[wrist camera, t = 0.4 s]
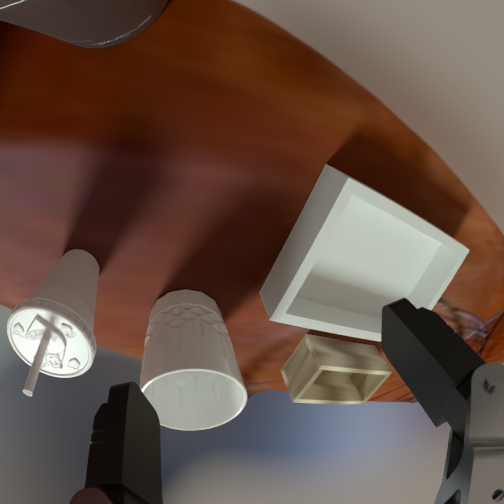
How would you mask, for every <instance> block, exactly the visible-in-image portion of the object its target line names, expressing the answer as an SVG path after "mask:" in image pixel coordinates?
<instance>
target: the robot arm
mask: <svg viewBox="0 0 504 504" xmlns="http://www.w3.org/2000/svg"><path fill="white" fill-rule="evenodd" d="M167 1H168V0H0V20H1V21H4V22H8V23H11V24H15V25H18V26H21V27H25V28H28V29H31V30H34V31H37V32H40V33H43V34H46V35H49V36H52V37H54V38H57V39H60V40H63V41H66V42H69V43H71V44H74V45H77V46H80V47H86V48H105V47H109V46H114V45H117V44H120V43H123V42H125V41H128V40H130V39H131V38H133V37H135V36H137V35H138V34H140V33H141V32H143V31H144V30H145V29H146V28H147V27H149V26H150V25H151V24H152V23H153V22H154V21H155V20H156V18H157V17H158V16H159V15H160V14H161V12H162V10H163V9H164V7H165V6H166V4H167ZM381 344H382V348H383V351H384V353H385V355H386V357H387V358H388V360H389V361H390V363H391V364H392V365H393V367H394V368H395V369H396V371H397V372H398V374H399V375H400V376H401V378H402V379H403V381H404V382H405V383H406V385H407V386H408V388H409V389H410V390H411V392H412V393H413V395H414V396H415V397H416V399H417V400H418V402H419V403H420V405H421V406H422V407H423V409H424V410H425V412H426V413H427V415H428V416H429V418H430V419H431V420H432V422H433V423H434V425H435V426H436V427H438V426H440V425H441V424H443V423H445V422H446V421H447V422H448V423H449V425H450V426H451V428H450V432H449V440H448V448H447V455H446V461H445V467H444V473H443V479H442V483H441V486H440V489H439V491H438V493H437V496H436V499H435V502H434V504H504V365H501V364H498V363H485V362H484V361H483V360H482V359H481V358H480V357H479V356H478V355H477V353H476V352H475V351H474V350H473V349H472V348H471V347H470V346H469V345H468V344H467V343H466V342H465V341H464V340H463V339H462V338H461V337H460V336H459V335H458V334H457V333H455V332H454V330H453V329H452V328H451V327H450V326H449V325H447V324H446V322H445V321H444V320H443V319H442V318H441V317H440V316H439V315H438V314H437V313H435V312H433V311H431V310H429V309H426V308H424V307H421V308H418V309H417V308H416V307H415V306H414V305H413V304H412V303H411V302H410V301H409V300H408V299H406V298H402V299H399V300H397V301H394V302H392V303H390V304H387V305H385V306H383V308H382V328H381ZM92 431H93V433H92V436H91V444H90V450H89V457H88V466H87V475H86V483H85V488H84V489H81V490H80V491H78V492H77V493H76V494H75V495H74V496H73V497H72V499H71V501H70V504H163V499H162V482H161V481H162V480H161V451H160V450H161V448H160V421H159V418H158V415H157V412H156V410H155V409H154V407H153V406H152V405H151V403H150V402H149V400H148V399H147V398H146V396H145V395H144V394H143V392H142V391H141V389H140V388H139V386H138V385H137V384H136V383H135V382H128V383H123V384H118V385H113V386H111V388H110V391H109V398H108V403H104V404H102V405H101V406H100V408H99V410H98V412H97V413H96V415H95V418H94V423H93V430H92Z"/></svg>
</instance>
